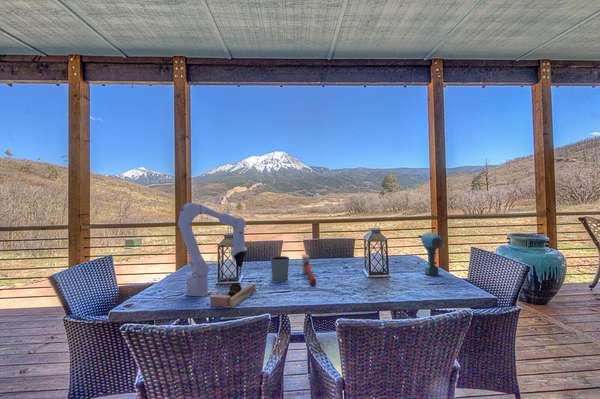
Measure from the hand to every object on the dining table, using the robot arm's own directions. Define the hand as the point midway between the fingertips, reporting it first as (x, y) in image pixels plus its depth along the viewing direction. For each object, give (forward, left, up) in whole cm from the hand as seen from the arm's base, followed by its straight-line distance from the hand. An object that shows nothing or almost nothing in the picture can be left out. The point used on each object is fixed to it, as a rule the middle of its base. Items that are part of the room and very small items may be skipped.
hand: (239, 266), depth 159 cm
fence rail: (+11, -18, -10) cm, 23 cm away
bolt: (+6, -18, -10) cm, 22 cm away
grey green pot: (+17, +15, -10) cm, 25 cm away
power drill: (+97, +44, -10) cm, 107 cm away
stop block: (+5, -28, -10) cm, 30 cm away
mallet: (+32, +21, -10) cm, 39 cm away
